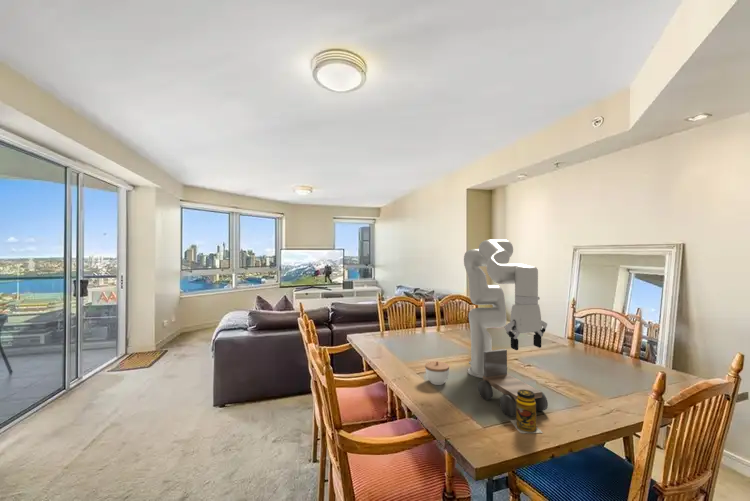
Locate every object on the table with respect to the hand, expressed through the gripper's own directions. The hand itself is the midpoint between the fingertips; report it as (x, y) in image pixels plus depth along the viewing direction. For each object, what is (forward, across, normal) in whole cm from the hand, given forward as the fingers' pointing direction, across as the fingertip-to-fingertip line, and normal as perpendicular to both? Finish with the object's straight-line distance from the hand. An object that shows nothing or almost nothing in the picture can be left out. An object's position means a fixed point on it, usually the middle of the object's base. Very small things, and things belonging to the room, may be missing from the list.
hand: (526, 347), depth 119 cm
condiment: (+24, +6, +7) cm, 26 cm away
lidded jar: (+25, +17, -36) cm, 47 cm away
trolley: (+24, 0, -8) cm, 26 cm away
